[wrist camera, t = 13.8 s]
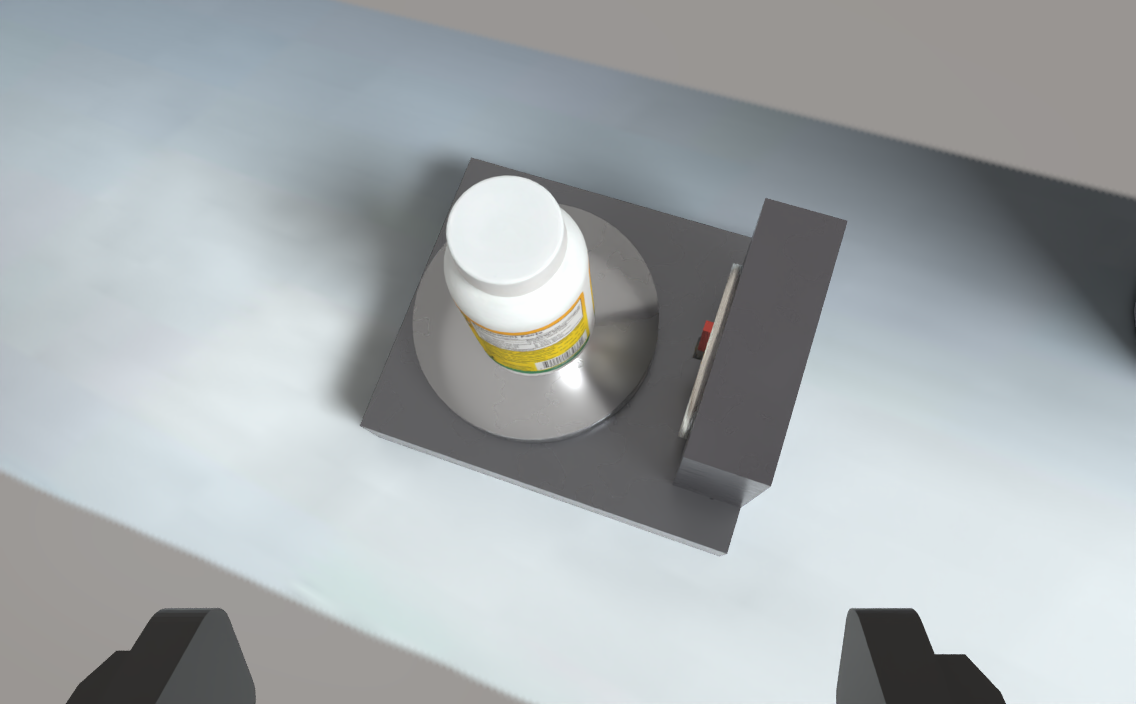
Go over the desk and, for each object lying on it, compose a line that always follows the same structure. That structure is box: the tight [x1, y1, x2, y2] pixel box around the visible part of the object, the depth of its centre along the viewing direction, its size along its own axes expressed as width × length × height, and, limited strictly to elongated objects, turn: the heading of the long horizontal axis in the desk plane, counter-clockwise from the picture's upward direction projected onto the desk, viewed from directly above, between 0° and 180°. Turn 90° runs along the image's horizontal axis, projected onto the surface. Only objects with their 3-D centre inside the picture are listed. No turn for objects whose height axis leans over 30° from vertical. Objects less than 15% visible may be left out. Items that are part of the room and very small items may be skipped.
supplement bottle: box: [444, 175, 595, 376], centre depth 32 cm, size 5×5×10 cm
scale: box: [360, 158, 847, 556], centre depth 35 cm, size 17×14×11 cm
